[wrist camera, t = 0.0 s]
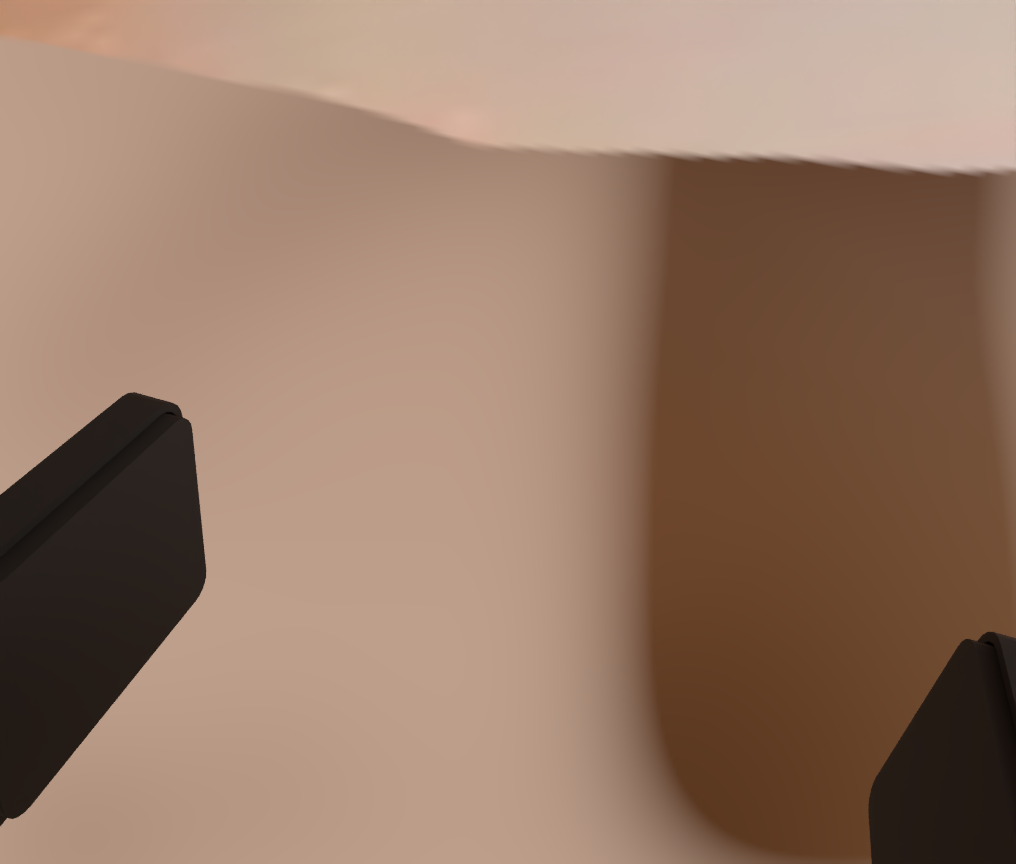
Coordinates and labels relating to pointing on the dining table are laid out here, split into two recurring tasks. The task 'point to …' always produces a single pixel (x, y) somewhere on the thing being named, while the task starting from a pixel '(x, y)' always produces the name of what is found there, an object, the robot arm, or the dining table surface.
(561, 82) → the dining table surface
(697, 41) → the dining table surface
